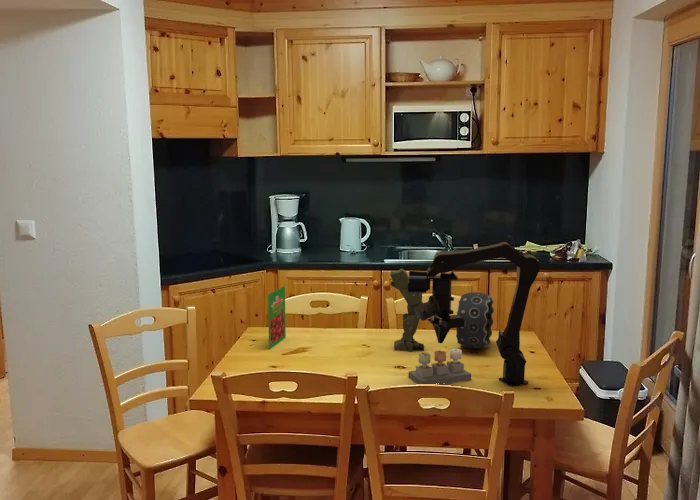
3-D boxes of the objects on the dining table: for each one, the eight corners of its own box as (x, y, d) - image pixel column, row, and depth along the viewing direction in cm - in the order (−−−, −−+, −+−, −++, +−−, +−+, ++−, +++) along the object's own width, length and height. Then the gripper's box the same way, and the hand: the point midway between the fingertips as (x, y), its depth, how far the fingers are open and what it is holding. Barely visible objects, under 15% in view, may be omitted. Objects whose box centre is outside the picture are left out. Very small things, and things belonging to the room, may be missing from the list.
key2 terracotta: (448, 368, 200) (448, 353, 199) (437, 370, 199) (438, 354, 198) (442, 365, 203) (442, 349, 202) (431, 366, 202) (432, 351, 201)
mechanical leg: (434, 343, 234) (415, 263, 230) (434, 350, 227) (415, 267, 223) (396, 351, 236) (377, 272, 232) (396, 357, 229) (376, 276, 225)
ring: (453, 354, 225) (455, 297, 222) (464, 338, 244) (465, 286, 241) (485, 357, 222) (487, 300, 218) (493, 341, 240) (495, 288, 237)
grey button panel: (471, 379, 201) (471, 365, 200) (422, 387, 194) (422, 373, 193) (455, 370, 209) (456, 357, 208) (408, 377, 202) (408, 363, 202)
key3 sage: (432, 371, 198) (432, 355, 197) (421, 372, 196) (422, 356, 196) (426, 367, 201) (426, 351, 200) (416, 368, 200) (416, 353, 199)
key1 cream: (463, 366, 202) (463, 350, 201) (453, 367, 201) (453, 352, 200) (457, 362, 205) (457, 347, 204) (447, 364, 204) (447, 349, 203)
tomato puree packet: (270, 349, 230) (269, 294, 226) (267, 349, 230) (266, 294, 227) (286, 337, 244) (286, 285, 241) (284, 337, 244) (283, 285, 241)
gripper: (404, 289, 203) (403, 337, 205) (433, 302, 186) (432, 355, 188) (435, 286, 207) (434, 333, 209) (467, 299, 190) (465, 350, 192)
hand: (440, 343), depth 200 cm, fingers closed
